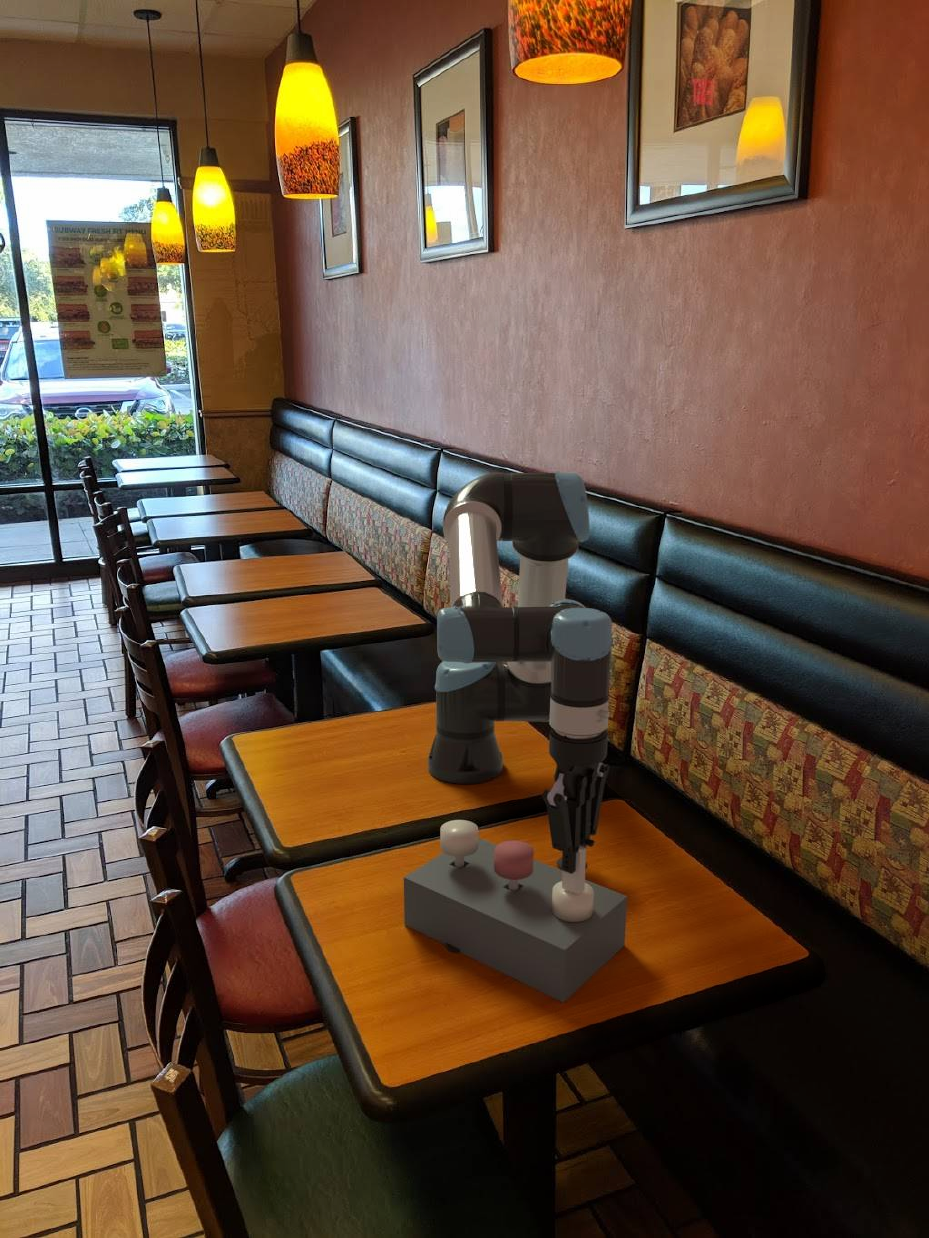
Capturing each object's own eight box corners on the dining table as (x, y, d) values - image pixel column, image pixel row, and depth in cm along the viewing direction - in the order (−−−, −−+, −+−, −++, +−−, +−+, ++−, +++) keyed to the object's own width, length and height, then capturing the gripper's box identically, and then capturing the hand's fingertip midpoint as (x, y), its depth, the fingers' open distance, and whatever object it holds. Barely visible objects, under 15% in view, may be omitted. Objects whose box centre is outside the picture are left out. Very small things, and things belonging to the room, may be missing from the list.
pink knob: (509, 883, 144) (509, 836, 141) (540, 897, 140) (541, 848, 138) (486, 900, 139) (486, 851, 137) (517, 914, 136) (518, 864, 134)
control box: (471, 879, 156) (471, 834, 154) (624, 945, 139) (627, 896, 137) (404, 924, 144) (403, 877, 142) (563, 1002, 127) (564, 949, 125)
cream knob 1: (456, 861, 150) (456, 816, 147) (485, 874, 146) (485, 827, 144) (433, 877, 145) (432, 830, 143) (462, 889, 142) (462, 842, 140)
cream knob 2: (565, 923, 138) (567, 875, 136) (599, 938, 135) (601, 889, 133) (543, 942, 134) (544, 892, 132) (577, 957, 131) (579, 907, 128)
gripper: (576, 751, 118) (570, 920, 125) (629, 720, 128) (621, 878, 135) (525, 736, 123) (522, 900, 130) (581, 707, 133) (575, 860, 139)
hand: (573, 888), depth 132 cm, fingers closed
